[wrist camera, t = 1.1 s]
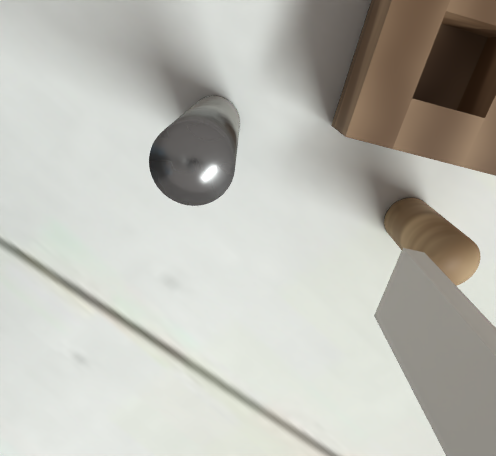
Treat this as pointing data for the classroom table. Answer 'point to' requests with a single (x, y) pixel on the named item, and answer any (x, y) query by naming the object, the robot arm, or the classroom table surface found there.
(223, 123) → the metal pin
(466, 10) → the socket block
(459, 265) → the oak dowel
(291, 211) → the classroom table surface
